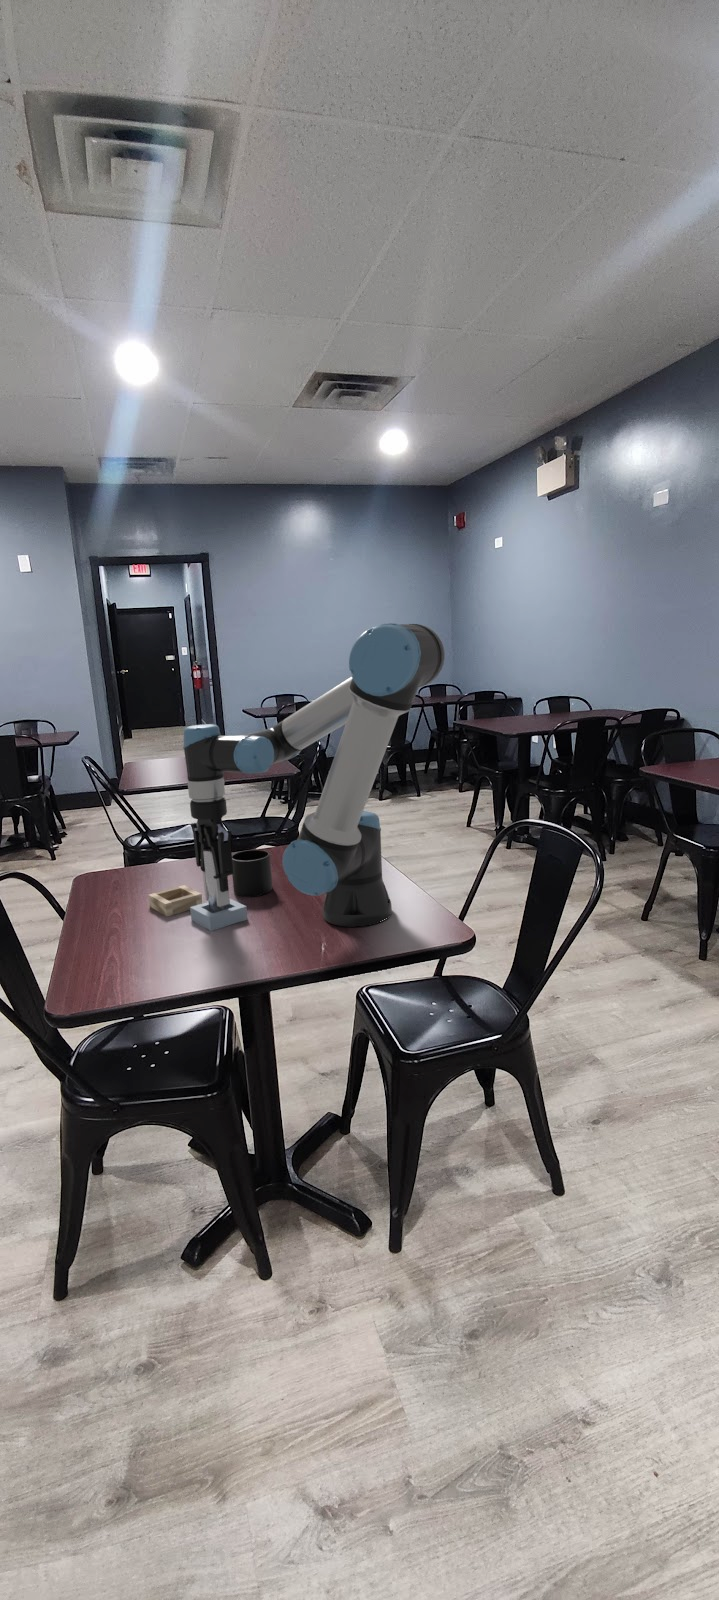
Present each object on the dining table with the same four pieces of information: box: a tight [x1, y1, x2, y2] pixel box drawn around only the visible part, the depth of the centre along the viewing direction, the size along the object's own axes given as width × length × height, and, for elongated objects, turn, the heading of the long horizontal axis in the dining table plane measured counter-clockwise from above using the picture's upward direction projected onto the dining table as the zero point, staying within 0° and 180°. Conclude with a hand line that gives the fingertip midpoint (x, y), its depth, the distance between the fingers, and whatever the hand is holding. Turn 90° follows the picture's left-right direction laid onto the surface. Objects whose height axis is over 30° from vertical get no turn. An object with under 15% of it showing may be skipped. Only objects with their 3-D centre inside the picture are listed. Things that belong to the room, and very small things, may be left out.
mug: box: [232, 849, 273, 898], centre depth 177 cm, size 9×12×9 cm
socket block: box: [189, 898, 249, 932], centre depth 159 cm, size 9×9×3 cm
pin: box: [203, 848, 228, 913], centre depth 157 cm, size 4×4×16 cm
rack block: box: [148, 884, 203, 917], centre depth 168 cm, size 9×9×3 cm
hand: (217, 901), depth 158 cm, fingers open, 4 cm apart
